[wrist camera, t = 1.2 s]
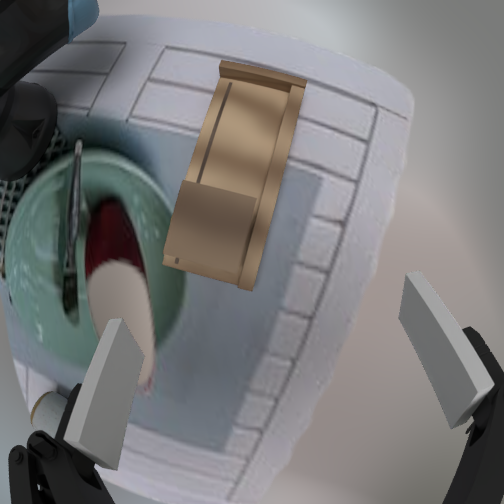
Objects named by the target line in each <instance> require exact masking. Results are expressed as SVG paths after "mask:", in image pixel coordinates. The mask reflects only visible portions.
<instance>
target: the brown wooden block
mask: <svg viewBox="0 0 504 504" xmlns="http://www.w3.org/2000/svg"><path fill="white" fill-rule="evenodd" d="M256 200H257V198H254V197H251V196H247V195H243V194H239V193H235V192H231V191H227V190H223V189H220V188H215V187H211V186H207V185H203V184H199V183H195V182H191V181H186V180H183V181H182V184H181V188H180V191H179V194H178V198H177V201H176V205H175V208H174V212H173V215H172V217H171V223H170V227H169V231H168V234H167V238H166V242H165V246H164V250H163V254H166V255H169V256H173V257H176V258H180V259H184V260H187V261H191V262H195V263H198V264H202V265H206V266H209V267H213V268H217V269H221V270H224V271H228V272H232V273H236V274H237V271H238V267H239V263H240V260H241V256H242V252H243V248H244V244H245V241H246V237H247V233H248V229H249V226H250V222H251V218H252V214H253V211H254V207H255V203H256Z"/></svg>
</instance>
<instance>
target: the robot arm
mask: <svg viewBox="0 0 504 504" xmlns="http://www.w3.org/2000/svg"><path fill="white" fill-rule="evenodd" d="M98 15H99V7H98V3H97V0H0V180H4V181H13V180H17V179H19V178H21V177H22V176H24V175H25V174H27V173H28V172H29V171H30V170H31V169H32V168H33V167H34V166H35V165H36V164H37V162H38V161H39V160H40V158H41V157H42V155H43V154H44V152H45V150H46V148H47V147H48V145H49V142H50V140H51V138H52V135H53V132H54V129H55V125H56V119H57V106H56V101H55V98H54V97H53V95H52V94H51V93H50V92H49V91H48V90H47V89H46V88H44V87H43V86H41V85H39V84H36V83H29V82H25V81H19V80H20V79H22V78H23V77H24V76H25V75H26V74H27V73H29V72H30V71H31V70H32V69H33V68H35V67H36V66H37V65H38V64H40V63H41V62H42V61H44V60H45V59H46V58H47V57H49V56H50V55H51V54H53V53H54V52H56V51H57V50H58V49H60V48H61V47H62V46H64V45H65V44H69V43H71V41H72V40H73V38H75V37H76V36H78V35H79V34H80V33H82V32H83V31H85V30H86V29H88V28H89V27H91V26H92V25H93V24H94V23H95V22H96V20H97V18H98ZM399 320H400V322H401V323H402V325H403V327H404V329H405V331H406V333H407V335H408V337H409V339H410V341H411V343H412V345H413V346H414V349H415V351H416V353H417V355H418V357H419V359H420V361H421V363H422V365H423V367H424V369H425V371H426V374H427V375H428V378H429V380H430V382H431V384H432V386H433V389H434V391H435V393H436V395H437V397H438V400H439V402H440V404H441V407H442V409H443V411H444V414H445V416H446V418H447V421H448V423H449V426H450V429H453V428H455V427H457V426H459V425H462V424H464V423H466V422H467V420H468V419H469V418H470V417H471V416H473V419H474V422H473V423H472V424H471V425H470V427H469V428H468V429H467V431H466V434H468V433H469V431H470V430H471V431H470V434H469V437H468V440H467V443H466V446H465V450H464V452H463V455H462V458H461V461H460V463H459V466H458V469H457V471H456V474H455V476H454V478H453V481H452V483H451V486H450V488H449V490H448V493H447V495H446V497H445V499H444V501H443V503H442V504H500V503H501V501H502V498H503V495H504V372H503V370H502V369H501V367H500V365H499V364H498V362H497V360H496V359H495V357H494V355H493V354H492V352H490V349H489V348H488V346H487V345H486V344H485V341H484V340H483V338H482V337H481V335H480V334H479V333H478V332H477V331H475V330H474V329H473V328H472V327H467V328H464V329H461V328H460V326H459V325H458V323H457V322H456V320H455V319H454V318H453V316H452V314H451V313H450V311H449V310H448V308H447V307H446V306H445V304H444V303H443V301H442V300H441V299H440V297H439V296H438V294H437V293H436V292H435V290H434V289H433V287H432V286H431V285H430V283H429V282H428V281H427V280H426V278H425V277H424V276H423V274H422V273H421V272H420V271H416V272H411V273H407V274H406V275H405V283H404V290H403V295H402V301H401V307H400V312H399ZM143 360H144V354H143V352H142V351H141V349H140V348H139V346H138V344H137V342H136V341H135V339H134V338H133V336H132V334H131V332H130V331H129V329H128V327H127V325H126V324H125V322H124V320H123V318H117V319H110V320H109V321H108V323H107V326H106V328H105V330H104V332H103V335H102V337H101V339H100V342H99V344H98V346H97V349H96V351H95V354H94V356H93V358H92V361H91V363H90V366H89V368H88V371H87V373H86V376H85V379H84V381H83V384H79V383H78V384H77V385H76V386H75V387H74V389H73V390H72V391H71V393H70V395H69V398H68V401H67V404H66V406H65V409H64V410H65V411H64V412H63V415H62V417H61V420H60V423H59V426H58V429H57V432H56V435H55V438H52V437H51V436H50V435H49V434H48V433H46V432H45V431H43V430H38V431H35V432H34V433H32V434H31V435H30V437H29V439H28V441H27V449H26V448H25V447H23V446H22V445H17V446H15V447H13V448H12V450H11V451H10V454H9V459H8V460H9V461H8V462H9V482H10V494H11V504H115V503H114V501H113V499H112V497H111V496H110V494H109V492H108V490H107V489H106V487H105V485H104V483H103V481H102V479H101V477H100V475H99V474H98V472H97V470H96V469H95V468H94V465H95V463H96V464H98V465H99V466H101V467H102V468H106V469H111V470H118V465H119V460H120V455H121V450H122V445H123V441H124V436H125V432H126V427H127V423H128V419H129V414H130V410H131V406H132V402H133V398H134V394H135V390H136V386H137V382H138V378H139V375H140V371H141V367H142V364H143ZM37 484H38V485H40V490H38V486H37Z"/></svg>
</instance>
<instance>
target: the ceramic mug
mask: <svg viewBox="0 0 504 504" xmlns="http://www.w3.org/2000/svg"><path fill="white" fill-rule="evenodd" d="M67 401H68V400H67V399H66V398H65V397H63V396H62V395H60V394H58V393H56V392H53V391H51V392H47V393H45V394H43V395H42V396H41V397H40V398H39V399H38V401H37V402H36V403H35V405H34V407H33V409H32V412H31V424H32V426H33V427H34V428H35V429H36V431H38V430H43V431H45V432H46V433H48V434H49V435H50V436H51V437H52V438H55V435H56V432H57V429H58V426H59V423H60V420H61V417H62V415H63V412H64V411H65V410H64V409H65V406H66V404H67Z"/></svg>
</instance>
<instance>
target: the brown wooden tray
mask: <svg viewBox="0 0 504 504" xmlns="http://www.w3.org/2000/svg"><path fill="white" fill-rule="evenodd" d="M219 72H220V79H219V82H218V84H217V87H216V90H215V92H214V95H213V98H212V100H211V103H210V106H209V109H208V111H207V114H206V117H205V120H204V123H203V126H202V129H201V132H200V135H199V138H198V141H197V144H196V147H195V150H194V153H193V156H192V159H191V162H190V165H189V169H188V172H187V175H186V178H185V180H186V181H191V182H195V183H199V184H203V185H207V186H211V187H215V188H220V189H223V190H227V191H231V192H235V193H239V194H243V195H247V196H251V197H254V198H257V200H256V203H255V207H254V211H253V214H252V218H251V222H250V226H249V229H248V233H247V237H246V241H245V244H244V248H243V252H242V256H241V260H240V263H239V267H238V271H237V274H236V273H232V272H228V271H224V270H221V269H217V268H213V267H209V266H206V265H202V264H198V263H195V262H191V261H187V260H184V259H180V258H176V257H173V256H169V255H166V254H165V256H164V260H163V264H162V265H166V266H169V267H173V268H176V269H180V270H183V271H187V272H191V273H194V274H198V275H201V276H205V277H209V278H212V279H216V280H220V281H224V282H227V283H231V284H235V285H238V288H240V289H244V290H248V291H253V287H254V283H255V279H256V276H257V272H258V268H259V265H260V261H261V257H262V253H263V249H264V246H265V242H266V238H267V234H268V231H269V227H270V223H271V219H272V215H273V212H274V208H275V204H276V200H277V196H278V192H279V188H280V185H281V181H282V177H283V173H284V169H285V165H286V161H287V157H288V154H289V150H290V146H291V142H292V138H293V134H294V130H295V126H296V122H297V118H298V114H299V110H300V106H301V102H302V98H303V94H304V90H305V87H306V84H307V80H305V79H302V78H298V77H295V76H291V75H288V74H284V73H280V72H276V71H272V70H268V69H263V68H259V67H255V66H250V65H245V64H240V63H235V62H230V61H224V60H221V62H220V65H219Z"/></svg>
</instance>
